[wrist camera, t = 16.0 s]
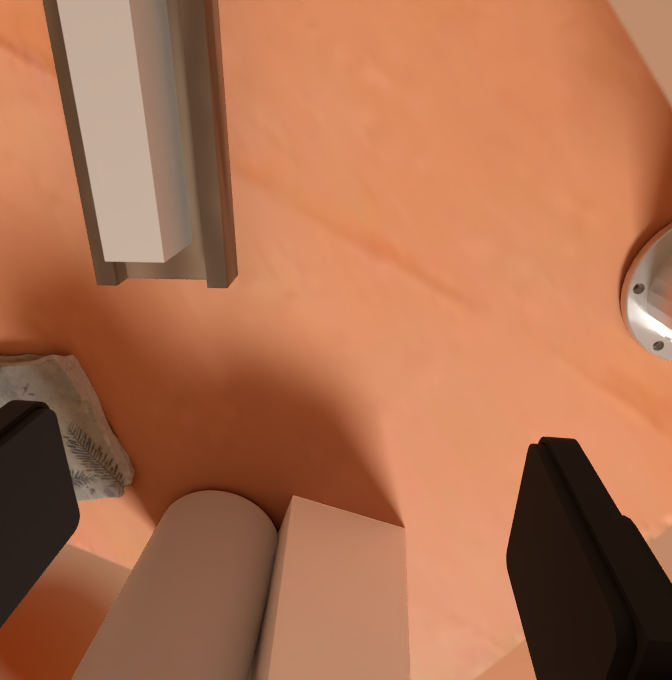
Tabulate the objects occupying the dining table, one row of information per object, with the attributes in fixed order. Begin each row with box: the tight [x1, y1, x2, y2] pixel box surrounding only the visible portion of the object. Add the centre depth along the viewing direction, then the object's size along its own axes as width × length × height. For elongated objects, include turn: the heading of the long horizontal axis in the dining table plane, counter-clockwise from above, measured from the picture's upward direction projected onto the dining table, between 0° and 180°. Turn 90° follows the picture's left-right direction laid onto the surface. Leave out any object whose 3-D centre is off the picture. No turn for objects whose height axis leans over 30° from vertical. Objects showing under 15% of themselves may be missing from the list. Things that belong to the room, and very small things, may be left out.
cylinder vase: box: [71, 490, 278, 680], centre depth 41 cm, size 12×12×25 cm
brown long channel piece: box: [43, 0, 238, 288], centre depth 35 cm, size 10×22×4 cm, turn 179°
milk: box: [248, 495, 410, 680], centre depth 41 cm, size 12×12×26 cm
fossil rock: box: [0, 354, 135, 502], centre depth 47 cm, size 18×15×2 cm
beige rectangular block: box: [57, 0, 193, 263], centre depth 32 cm, size 4×16×6 cm, turn 0°
